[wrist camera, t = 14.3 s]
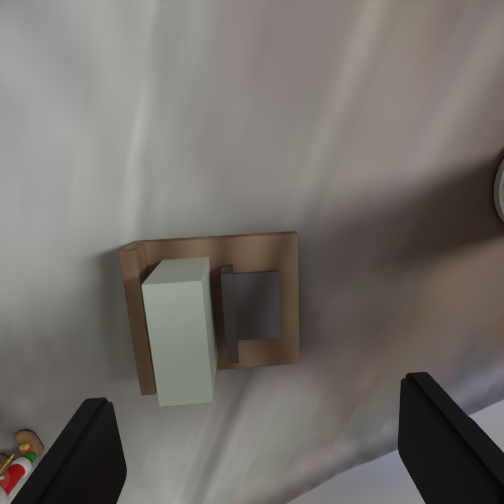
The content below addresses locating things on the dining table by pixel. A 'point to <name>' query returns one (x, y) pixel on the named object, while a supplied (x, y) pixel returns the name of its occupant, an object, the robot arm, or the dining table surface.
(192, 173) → the dining table surface
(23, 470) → the santa figurine
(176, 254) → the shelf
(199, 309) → the pale green block
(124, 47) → the dining table surface
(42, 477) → the robot arm
